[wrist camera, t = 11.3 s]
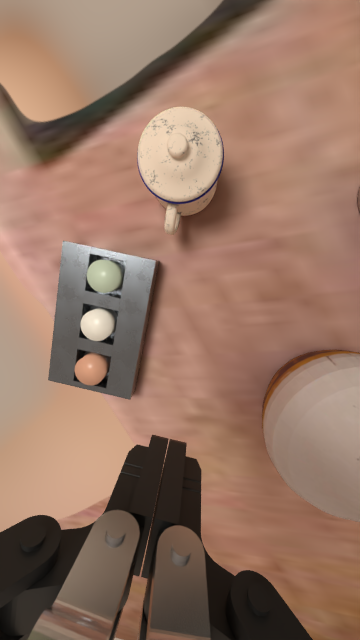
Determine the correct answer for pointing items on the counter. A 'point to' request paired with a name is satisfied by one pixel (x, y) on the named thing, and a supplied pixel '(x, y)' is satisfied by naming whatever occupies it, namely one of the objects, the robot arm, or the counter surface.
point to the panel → (125, 301)
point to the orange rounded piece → (92, 368)
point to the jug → (317, 429)
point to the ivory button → (99, 323)
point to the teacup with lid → (180, 162)
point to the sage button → (105, 275)
